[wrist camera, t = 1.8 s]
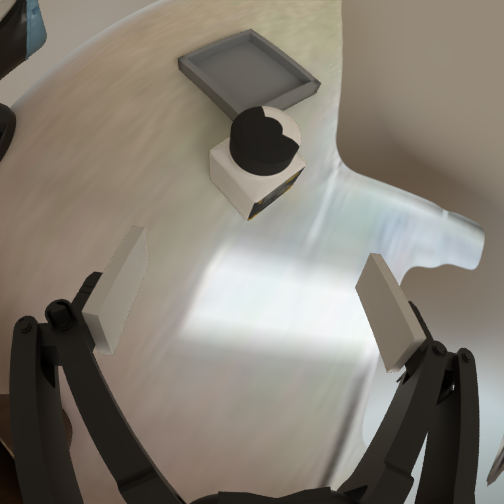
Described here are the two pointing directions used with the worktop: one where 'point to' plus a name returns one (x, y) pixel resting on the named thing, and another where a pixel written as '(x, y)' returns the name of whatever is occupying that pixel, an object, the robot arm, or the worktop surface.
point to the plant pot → (3, 463)
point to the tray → (247, 74)
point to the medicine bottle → (257, 159)
